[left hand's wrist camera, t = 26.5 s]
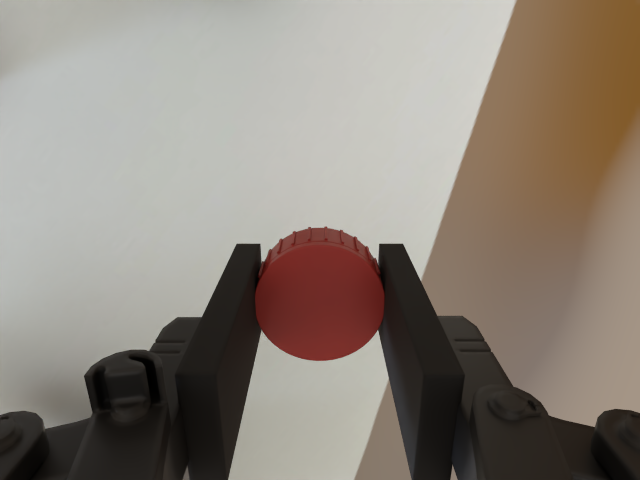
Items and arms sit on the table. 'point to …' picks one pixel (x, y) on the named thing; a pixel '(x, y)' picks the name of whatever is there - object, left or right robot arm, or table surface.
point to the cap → (319, 294)
